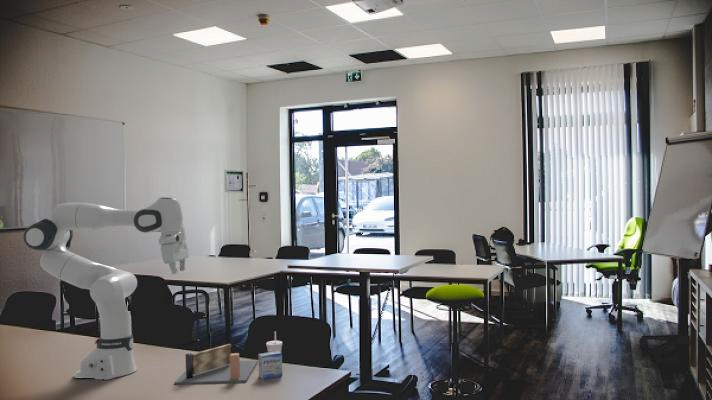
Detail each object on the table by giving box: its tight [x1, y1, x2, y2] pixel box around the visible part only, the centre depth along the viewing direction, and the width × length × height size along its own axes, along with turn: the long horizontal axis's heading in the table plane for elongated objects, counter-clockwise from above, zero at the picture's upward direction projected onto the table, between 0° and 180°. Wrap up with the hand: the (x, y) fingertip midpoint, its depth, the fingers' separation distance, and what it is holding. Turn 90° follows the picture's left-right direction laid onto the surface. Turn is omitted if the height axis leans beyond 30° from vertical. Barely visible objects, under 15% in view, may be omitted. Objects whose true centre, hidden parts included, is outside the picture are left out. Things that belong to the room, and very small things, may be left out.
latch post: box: [230, 352, 241, 379], centre depth 199 cm, size 3×2×10 cm
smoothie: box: [265, 331, 283, 353], centre depth 214 cm, size 6×6×14 cm
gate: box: [192, 343, 232, 375], centre depth 210 cm, size 17×2×8 cm, turn 140°
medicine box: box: [257, 351, 283, 380], centre depth 203 cm, size 8×4×9 cm, turn 117°
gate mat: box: [173, 360, 259, 385], centre depth 209 cm, size 26×24×1 cm
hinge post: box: [185, 352, 193, 379], centre depth 202 cm, size 2×2×10 cm
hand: (178, 272), depth 214 cm, fingers open, 8 cm apart
